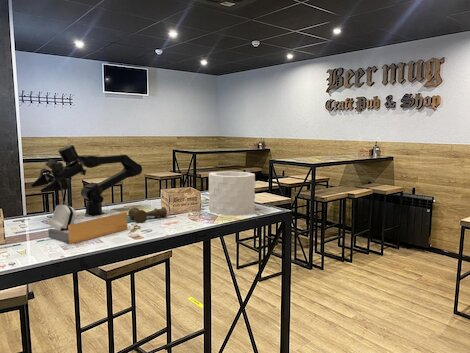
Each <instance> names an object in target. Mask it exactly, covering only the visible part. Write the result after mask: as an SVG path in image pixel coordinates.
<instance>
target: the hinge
mask: <svg viewBox="0 0 470 353" xmlns="http://www.w3.org/2000/svg"><path fill="white" fill-rule="evenodd" d="M76 215H77V213H76V210H75V209H74V208H73V207H72V206H69V205H67V204H57V205H56V206H55V209H54V212H53V214H52V217H51V218H49V219H48V221H47V224H48V226H50V227H52V229H55V230H59V231H62V229H68V225H70V224H75V218H76Z"/></svg>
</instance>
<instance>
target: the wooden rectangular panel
mask: <svg viewBox="0 0 470 353" xmlns="http://www.w3.org/2000/svg"><path fill="white" fill-rule="evenodd" d="M127 215H128V212H126V211H125V212H121V213H120V212H119V213H116V214H111V215H106V216H102V217H97V218H93V219H87V220H84V221H80V222H76V223H75V222H74V224H70V225H68V228H67V229H68V230H67V232H64V231H63V230H61V231H59V230H56V229H55V228H48V237H49V238H50V239H53V240H56V241H60V242H63V243H65V244H69V245H73V244H77V243H81V242H84V241H88V240H92V239H96V238H99V237H102V236H103V237H104V236H107V235H111V234H114V233H118V232H122V231H126V230H128V217H127Z"/></svg>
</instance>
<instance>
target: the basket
mask: <svg viewBox="0 0 470 353" xmlns="http://www.w3.org/2000/svg"><path fill="white" fill-rule="evenodd" d="M255 187H256V174H255V173H252V172H247V171H234V170H233V171H229V170H228V171H213V172H211V171H210V172H209V173H208V211H209V212H210V213H212V214H215V213H216V214H215V215H220V214H221V215H223V216H231V215H232V216H245V215H248V214H249V213H250V214H252V212H253V213H254V212H255V211H256V204H255V199H256V192H255ZM244 214H245V215H244ZM250 214H249V215H250Z"/></svg>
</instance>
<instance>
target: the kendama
mask: <svg viewBox="0 0 470 353" xmlns="http://www.w3.org/2000/svg"><path fill="white" fill-rule="evenodd" d="M167 213H168V211H167V208H166V207H165V206H163V207H161V208H154V209H152V210H149V211H146V210H144V209H140V208H138V207H135V206H134V207H131V208H129V211H128V212H127V218H128V217H129V218H130V219H131V220H134V222H135V223H137V224H144V223H145V222H146V221H147V218H148V217H154V218H159V217H162V218H167Z"/></svg>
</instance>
